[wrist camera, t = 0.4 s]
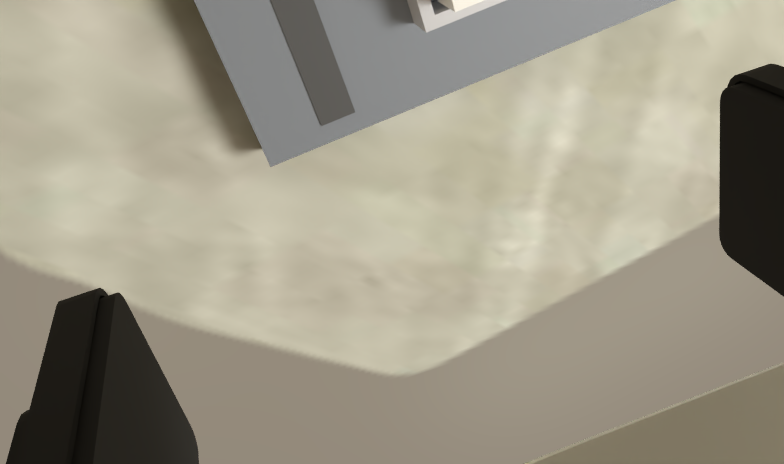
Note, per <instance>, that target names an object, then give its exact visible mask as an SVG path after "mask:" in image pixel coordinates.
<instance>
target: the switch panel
mask: <svg viewBox="0 0 784 464" xmlns="http://www.w3.org/2000/svg"><path fill="white" fill-rule="evenodd" d="M672 1H675V0H484V1H482V2H479V3H477V4H474V5H472V6H469V7H467V8H464V9H462V10H460V11H457V12H454V11H452V10H451V9H449V8H448V7H446V6H444V5H443V4H441V3H439V2H438V0H194V2H195V4H196V6H197V8H198V10H199V13H200V15H201V17H202V19H203V21H204V23H205V26H206V28H207V30H208V32H209V34H210V36H211V39H212V41H213V43H214V45H215V47H216V49H217V52H218V54H219V56H220V58H221V60H222V62H223V65H224V67H225V69H226V71H227V73H228V75H229V78H230V80H231V82H232V84H233V86H234V89H235V91H236V93H237V95H238V97H239V99H240V102H241V104H242V106H243V108H244V110H245V112H246V115H247V117H248V119H249V121H250V123H251V125H252V128H253V130H254V132H255V134H256V136H257V138H258V141H259V143H260V145H261V147H262V149H263V151H264V154H265V156H266V158H267V160H268V162H269V165H270V167H272V166H274V165H277V164H279V163H281V162H284V161H286V160H289V159H291V158H294V157H296V156H298V155H301V154H303V153H306V152H308V151H311V150H313V149H315V148H318V147H320V146H323V145H325V144H328V143H330V142H332V141H335V140H337V139H340V138H342V137H345V136H347V135H349V134H352V133H354V132H357V131H359V130H362V129H364V128H366V127H369V126H371V125H374V124H376V123H379V122H381V121H383V120H386V119H388V118H391V117H393V116H396V115H398V114H400V113H403V112H405V111H408V110H410V109H413V108H415V107H417V106H420V105H422V104H425V103H427V102H430V101H432V100H434V99H437V98H439V97H442V96H444V95H447V94H449V93H451V92H454V91H456V90H459V89H461V88H464V87H466V86H468V85H471V84H473V83H476V82H478V81H481V80H483V79H485V78H488V77H490V76H493V75H495V74H498V73H500V72H502V71H505V70H507V69H510V68H512V67H515V66H517V65H519V64H522V63H524V62H527V61H529V60H532V59H534V58H536V57H539V56H541V55H544V54H546V53H549V52H551V51H553V50H556V49H558V48H561V47H563V46H566V45H568V44H570V43H573V42H575V41H578V40H580V39H583V38H585V37H587V36H590V35H592V34H595V33H597V32H600V31H602V30H604V29H607V28H609V27H612V26H614V25H617V24H619V23H621V22H624V21H626V20H629V19H631V18H634V17H636V16H638V15H641V14H643V13H646V12H648V11H651V10H653V9H655V8H658V7H660V6H663V5H665V4H668V3H670V2H672Z"/></svg>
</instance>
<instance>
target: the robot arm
mask: <svg viewBox="0 0 784 464" xmlns="http://www.w3.org/2000/svg"><path fill="white" fill-rule="evenodd" d="M719 223H720V224H719V234H720V241H721V245H722V247H723V249H724V251H725V252H726V253H727V255H728V256H730V257H731V258H732V259H733V260H735V261H736V262H737V263H739V264H740V265H741V266H743V267H744V268H745V269H747V270H748V271H750V272H751V273H752V274H754V275H755V276H756V277H758V278H759V279H761V280H762V281H763V282H765V283H766V284H767V285H769V286H770V287H772V288H773V289H774V290H776V291H777V292H778V293H780V294H781V295H783V296H784V67H782V66H779V65H776V64H768V65H765V66H762V67H759V68H756V69H753V70H750V71H747V72H744V73H741V74H738V75H735V76H734V77H733V78H732V79H731V80H730V82H729V84H728V87H727V88H726V89H725V90H724V91H723V92H722V94H721V99H720V217H719ZM6 464H199V460H198V447H197V442H196V439H195V436H194V433H193V430H192V428H191V426H190V424H189V422H188V420H187V418H186V416H185V414H184V412H183V410H182V408H181V406H180V404H179V403H178V401H177V399H176V397H175V395H174V393H173V391H172V389H171V387H170V385H169V383H168V381H167V379H166V377H165V376H164V374H163V372H162V370H161V368H160V366H159V364H158V362H157V360H156V359H155V356H154V354H153V353H152V351H151V349H150V347H149V345H148V343H147V341H146V339H145V337H144V335H143V334H142V331H141V329H140V328H139V326H138V324H137V322H136V320H135V318H134V316H133V314H132V312H131V310H130V308H129V306H128V304H127V303H126V301H125V299H124V297H123V296H122V295H121V294H120V293H115V294H112V295H109V296H108V294H107V293H106V292H105V291H104V290H103V289H101V288H98V289H95V290H92V291H89V292H86V293H83V294H80V295H77V296H74V297H71V298H68V299H65V300H62V301H59V302H58V304H57V306H56V310H55V314H54V317H53V321H52V325H51V329H50V333H49V337H48V341H47V344H46V348H45V352H44V356H43V360H42V364H41V367H40V372H39V375H38V379H37V383H36V387H35V391H34V394H33V398H32V402H31V406H30V410H27V411H26V412H24V413H23V414H21V416H20V418H19V420H18V423H17V425H16V429H15V432H14V436H13V440H12V443H11V447H10V451H9V454H8V458H7V462H6ZM524 464H784V362H783V363H780V364H778V365H775V366H773V367H770V368H768V369H765V370H762V371H760V372H757V373H755V374H752V375H749V376H747V377H745V378H742V379H739V380H736V381H734V382H731V383H729V384H726V385H724V386H721V387H718V388H716V389H714V390H711V391H708V392H706V393H703V394H700V395H698V396H695V397H693V398H690V399H688V400H685V401H682V402H680V403H677V404H675V405H672V406H669V407H667V408H664V409H662V410H659V411H657V412H654V413H651V414H649V415H646V416H644V417H641V418H639V419H636V420H634V421H631V422H628V423H626V424H623V425H621V426H618V427H616V428H613V429H610V430H608V431H605V432H603V433H600V434H598V435H595V436H593V437H590V438H587V439H585V440H582V441H580V442H578V443H574V444H572V445H569V446H567V447H564V448H562V449H559V450H557V451H554V452H552V453H549V454H547V455H544V456H541V457H539V458H536V459H534V460H531V461H529V462H526V463H524Z"/></svg>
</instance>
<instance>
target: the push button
mask: <svg viewBox="0 0 784 464" xmlns="http://www.w3.org/2000/svg"><path fill="white" fill-rule="evenodd" d="M482 1H484V0H438V2H439V3H441V4H443V5H444V6H446V7H448V8H449V9H451V10H452V11H454V12H457V11H460V10H462V9H464V8H467V7H469V6H472V5H474V4H477V3H479V2H482Z"/></svg>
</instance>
